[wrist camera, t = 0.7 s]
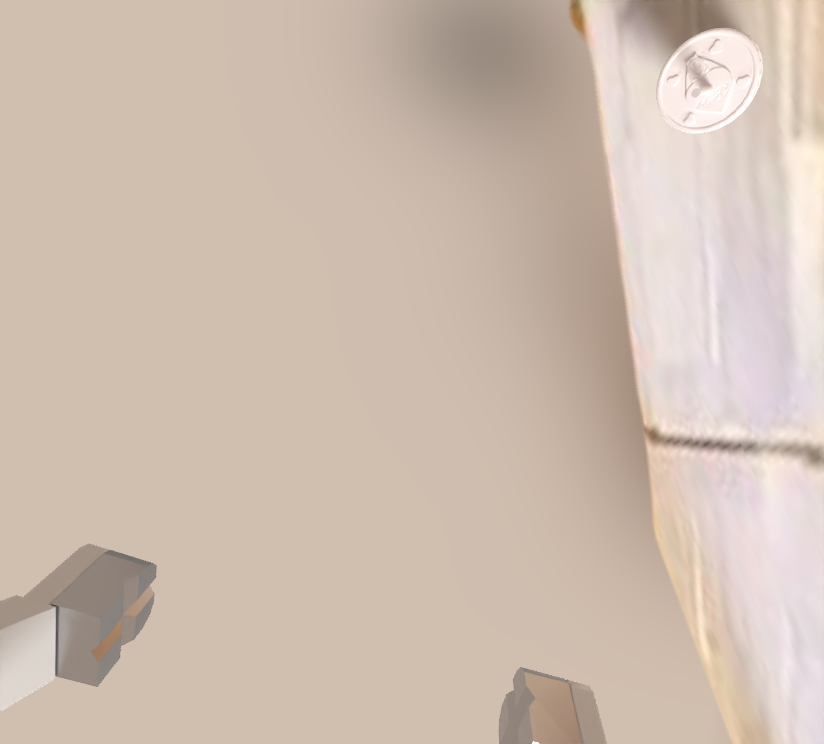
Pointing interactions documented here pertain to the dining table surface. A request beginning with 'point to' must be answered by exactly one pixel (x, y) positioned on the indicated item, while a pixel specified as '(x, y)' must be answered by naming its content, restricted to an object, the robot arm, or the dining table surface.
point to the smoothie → (709, 80)
